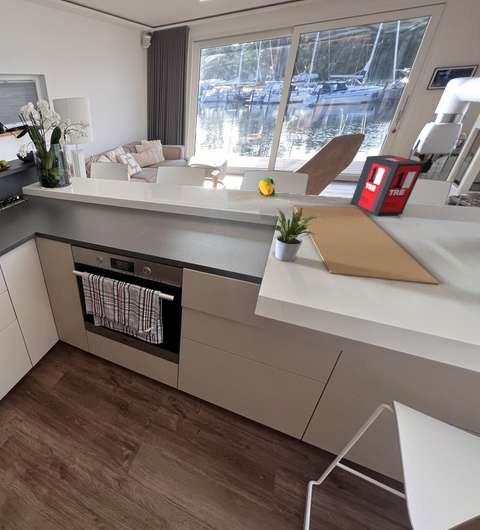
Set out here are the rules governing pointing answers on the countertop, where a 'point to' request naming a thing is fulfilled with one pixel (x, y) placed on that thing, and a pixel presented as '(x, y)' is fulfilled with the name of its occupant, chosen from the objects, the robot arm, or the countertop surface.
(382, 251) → the mat
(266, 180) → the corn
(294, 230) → the house plant
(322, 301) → the countertop surface
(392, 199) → the cleaning product box
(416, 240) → the countertop surface
